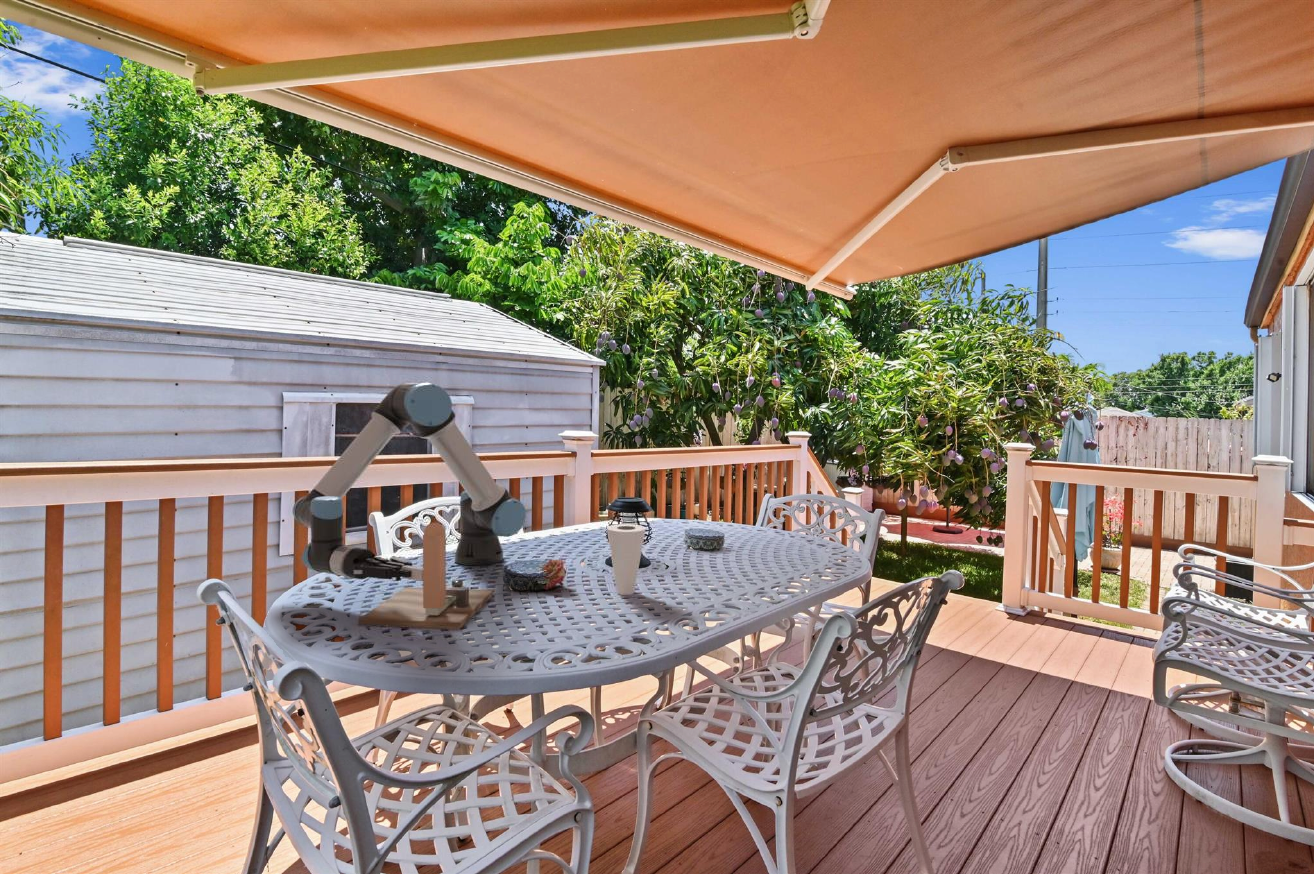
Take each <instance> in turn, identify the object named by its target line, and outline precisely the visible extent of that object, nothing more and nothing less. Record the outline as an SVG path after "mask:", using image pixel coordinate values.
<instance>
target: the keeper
mask: <svg viewBox="0 0 1314 874" xmlns="http://www.w3.org/2000/svg"><path fill="white" fill-rule="evenodd" d="M451 585H452V587H449V586H446V596H456V607H463V608H466V607H467V606H468V605H469V589H470V587H466V588H464V587H461V586H463V585H464V580H463V579H454V580H451Z"/></svg>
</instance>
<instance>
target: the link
mask: <svg viewBox="0 0 1314 874" xmlns="http://www.w3.org/2000/svg"><path fill="white" fill-rule="evenodd" d="M446 536H447V534H446V531H445V528H444V526H443V525H442V524H441V523H439V522H430V523H428V524H427V525H426V526H425V527H424V531H423V534H422V568H423V581H422V588H423V608H425V615H439V614H440V613H441V612H442V611H443V610H444V609H446V608H447V607H448V606H449V605H450V604H451V603H452V602H453V601H454V600H456V596H446V587H447V568H446V567H447V557H446V556H447V553H446V552H447V550H446V547H447V546H446V545H447V544H446V543H447V542H446V541H447V540H446V539H447V537H446ZM448 587H452V584H451V585H449V586H448ZM461 587H464V588H467V585H466V584H463V586H461Z"/></svg>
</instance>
